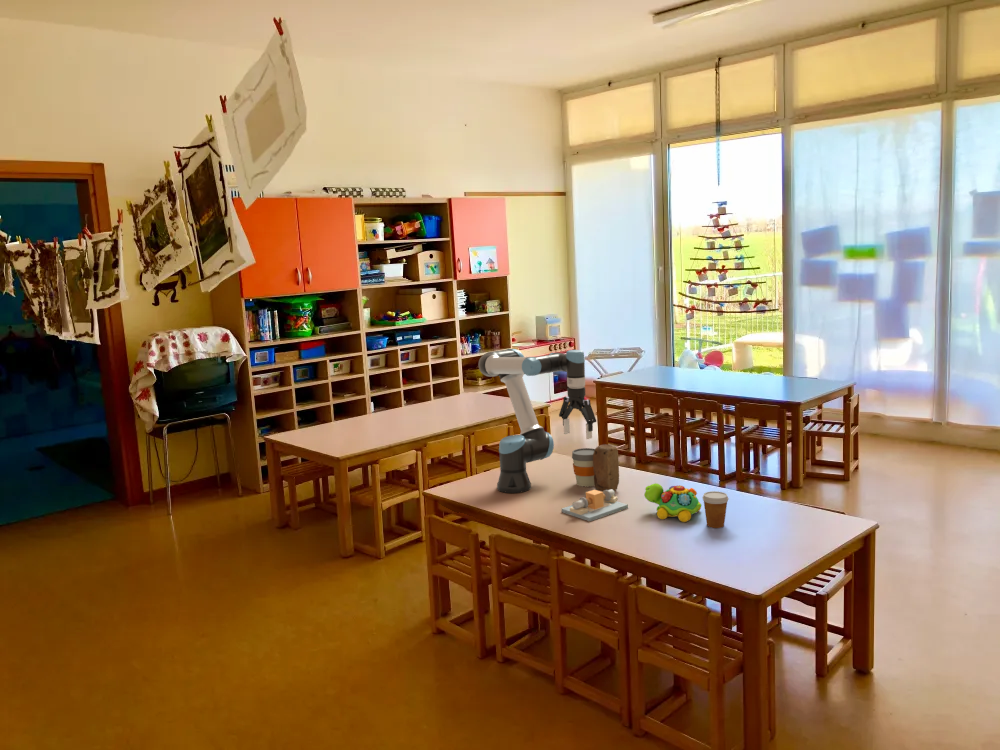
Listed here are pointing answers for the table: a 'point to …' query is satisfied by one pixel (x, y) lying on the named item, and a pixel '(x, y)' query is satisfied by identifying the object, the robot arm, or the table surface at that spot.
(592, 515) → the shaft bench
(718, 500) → the disposable coffee cup
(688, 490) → the turtle toy
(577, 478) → the reusable coffee cup
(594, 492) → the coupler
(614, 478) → the block
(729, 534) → the table surface
